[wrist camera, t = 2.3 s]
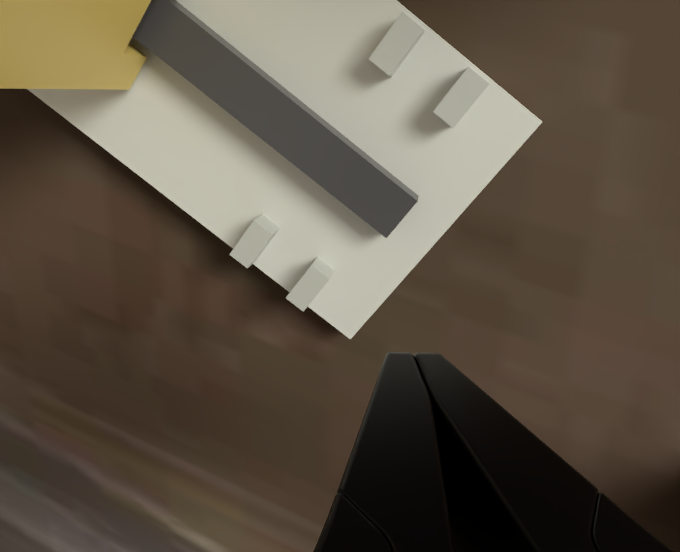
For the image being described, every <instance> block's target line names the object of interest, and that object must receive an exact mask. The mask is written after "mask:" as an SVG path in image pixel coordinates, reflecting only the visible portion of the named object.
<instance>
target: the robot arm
mask: <svg viewBox="0 0 680 552" xmlns="http://www.w3.org/2000/svg"><path fill="white" fill-rule="evenodd" d="M313 552H674V551H673V550H671V549H670V548H669V547H667V546H666V545H665V544H663V543H662V542H661V541H660V540H659V539H657V538H656V537H655V536H654V535H652V534H651V533H650V532H649V531H648V530H646V529H645V528H644V527H643V526H641V525H640V524H639V523H638V522H637V521H635V520H634V519H633V518H632V517H631V516H629V515H628V514H627V513H626V512H624V511H623V510H622V509H621V508H620V507H619V506H617V505H616V504H615V503H614V502H613V501H612V500H610V499H609V498H608V497H607V496H606V495H605V494H603V493H599V494H598V489H597V488H596V487H595V486H594V485H593V484H591V483H590V482H589V481H588V480H587V479H586V478H584V477H583V476H582V475H581V474H580V473H579V472H577V471H576V470H575V469H574V468H573V467H572V466H570V465H569V464H568V463H567V462H566V461H565V460H563V459H562V458H561V457H560V456H559V455H558V454H556V453H555V452H554V451H553V450H552V449H551V448H549V447H548V446H547V445H546V444H545V443H543V442H542V441H541V440H540V439H539V438H538V437H536V436H535V435H534V434H533V433H532V432H531V431H529V430H528V429H527V428H526V427H525V426H524V425H522V424H521V423H520V422H519V421H518V420H517V419H515V418H514V417H513V416H512V415H511V414H510V413H508V412H507V411H506V410H505V409H504V408H503V407H501V406H500V405H499V404H498V403H497V402H496V401H494V400H493V399H492V398H491V397H490V396H489V395H487V394H486V393H485V392H484V391H483V390H482V389H480V388H479V387H478V386H477V385H476V384H475V383H473V382H472V381H471V380H470V379H469V378H467V377H466V376H465V375H464V374H463V373H462V372H460V371H459V370H458V369H457V368H456V367H455V366H453V365H452V364H451V363H450V362H449V361H448V360H446V359H445V358H444V357H443V356H442V355H440V354H438V353H415V354H414V355H412V354H411V353H401V352H390V353H388V354H387V355H386V357H385V360H384V363H383V365H382V368H381V371H380V374H379V377H378V379H377V382H376V385H375V388H374V391H373V393H372V396H371V399H370V402H369V405H368V407H367V410H366V413H365V416H364V419H363V421H362V424H361V427H360V430H359V432H358V435H357V438H356V441H355V444H354V446H353V449H352V452H351V455H350V458H349V460H348V463H347V466H346V469H345V472H344V474H343V477H342V480H341V483H340V486H339V488H338V491H337V495H336V496H335V498H334V501H333V504H332V507H331V510H330V512H329V515H328V518H327V520H326V523H325V525H324V528H323V530H322V532H321V535H320V537H319V540H318V542H317V545H316V547H315V549H314V551H313Z"/></svg>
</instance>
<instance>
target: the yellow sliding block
mask: <svg viewBox="0 0 680 552" xmlns="http://www.w3.org/2000/svg"><path fill="white" fill-rule="evenodd" d="M150 2H151V0H0V89H118V90H130V88H131V86H132V84H133V82H134V80H135V79H136V77H137V75H138V73H139V71H140V69H141V68H142V66H143V64H144V62H145V60H146V58H147V56H146V55H144V54H143V53H142V52H141V51H139V50H138V49H137V48H136V47H134V46H133V45H132V44H131V43H129V42H130V40H131V38H132V36H133V34H134V32H135V30H136V28H137V26H138V25H139V23H140V21H141V19H142V17H143V15H144V13H145V11H146V9H147V7H148V6H149V4H150Z"/></svg>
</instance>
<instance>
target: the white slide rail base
mask: <svg viewBox="0 0 680 552" xmlns="http://www.w3.org/2000/svg"><path fill="white" fill-rule="evenodd" d="M129 43H131V44H132V45H133V46H134V47H136V48H137V49H138V50H139V51H141V52H142V53H143V54H144V55H146V56H147V58H146V60H145V62H144V64H143V66H142V68H141V69H140V71H139V73H138V75H137V77H136V79H135V80H134V82H133V84H132V86H131V88H130V90H118V89H28V90H29V91H30V92H31V93H33V94H34V95H35V96H37V97H38V98H39V99H41V100H42V101H43V102H44V103H46V104H47V105H48V106H50V107H51V108H52V109H53V110H55V111H56V112H57V113H59V114H60V115H61V116H62V117H64V118H65V119H66V120H68V121H69V122H70V123H71V124H73V125H74V126H75V127H77V128H78V129H79V130H81V131H82V132H83V133H84V134H86V135H87V136H88V137H90V138H91V139H92V140H93V141H95V142H96V143H97V144H99V145H100V146H101V147H102V148H104V149H105V150H106V151H108V152H109V153H110V154H112V155H113V156H114V157H115V158H117V159H118V160H119V161H121V162H122V163H123V164H124V165H126V166H127V167H128V168H130V169H131V170H132V171H133V172H135V173H136V174H137V175H139V176H140V177H141V178H143V179H144V180H145V181H146V182H148V183H149V184H150V185H152V186H153V187H154V188H155V189H157V190H158V191H159V192H161V193H162V194H163V195H164V196H166V197H167V198H168V199H170V200H171V201H172V202H173V203H175V204H176V205H177V206H179V207H180V208H181V209H183V210H184V211H185V212H186V213H188V214H189V215H190V216H192V217H193V218H194V219H195V220H197V221H198V222H199V223H201V224H202V225H203V226H204V227H206V228H207V229H208V230H210V231H211V232H212V233H214V234H215V235H216V236H217V237H219V238H220V239H221V240H223V241H224V242H225V243H226V244H228V245H229V246H230V247H232V248H233V250H232V252H231V253H230V254H229V255H230V256H232V257H233V258H234V259H236V260H237V261H238V262H240V263H241V264H242V265H243V266H245V267H246V268H247V269H248V268H249V267H250V266H251V265H252V264H254V265H255V266H256V267H257V268H259V269H260V270H261V271H263V272H264V273H265V274H266V275H268V276H269V277H270V278H272V279H273V280H274V281H275V282H277V283H278V284H279V285H281V286H282V287H283V288H285V289H286V290H287V291H288V292H290V293H289V294H288V295H287V297H286V299H287V300H289V301H290V302H291V303H293V304H294V305H295V306H296V307H298V308H299V309H300V310H302V311H304V310H305V309H306V308H307V307H309V308H310V309H312V310H313V311H314V312H316V313H317V314H318V315H319V316H321V317H322V318H323V319H325V320H326V321H327V322H328V323H330V324H331V325H332V326H334V327H335V328H336V329H337V330H339V331H340V332H341V333H343V334H344V335H345V336H346V337H348V338H349V339H351V338H352V337H353V336H354V335H355V334H356V332H357V331H358V330H359V329H360V328H361V327H362V326H363V324H364V323H365V322H366V321H367V320H368V319H369V318H370V317H371V315H372V314H373V313H374V312H375V311H376V310H377V309H378V307H379V306H380V305H381V304H382V303H383V302H384V301H385V300H386V298H387V297H388V296H389V295H390V294H391V293H392V292H393V291H394V289H395V288H396V287H397V286H398V285H399V284H400V283H401V281H402V280H403V279H404V278H405V277H406V276H407V275H408V274H409V272H410V271H411V270H412V269H413V268H414V267H415V266H416V264H417V263H418V262H419V261H420V260H421V259H422V258H423V257H424V255H425V254H426V253H427V252H428V251H429V250H430V249H431V247H432V246H433V245H434V244H435V243H436V242H437V241H438V240H439V238H440V237H441V236H442V235H443V234H444V233H445V232H446V231H447V229H448V228H449V227H450V226H451V225H452V224H453V223H454V221H455V220H456V219H457V218H458V217H459V216H460V215H461V214H462V212H463V211H464V210H465V209H466V208H467V207H468V206H469V204H470V203H471V202H472V201H473V200H474V199H475V198H476V197H477V195H478V194H479V193H480V192H481V191H482V190H483V189H484V188H485V186H486V185H487V184H488V183H489V182H490V181H491V180H492V178H493V177H494V176H495V175H496V174H497V173H498V172H499V171H500V169H501V168H502V167H503V166H504V165H505V164H506V163H507V161H508V160H509V159H510V158H511V157H512V156H513V155H514V154H515V152H516V151H517V150H518V149H519V148H520V147H521V146H522V145H523V143H524V142H525V141H526V140H527V139H528V138H529V137H530V135H531V134H532V133H533V132H534V131H535V130H536V129H537V128H538V126H539V125H540V124H541V123H542V121H541V120H540V119H538V118H537V117H536V116H535V115H534V114H532V113H531V112H530V111H529V110H528V109H526V108H525V107H524V106H523V105H522V104H520V103H519V102H518V101H517V100H516V99H514V98H513V97H512V96H511V95H510V94H508V93H507V92H506V91H505V90H504V89H502V88H501V87H500V86H499V85H498V84H496V83H495V82H494V81H493V80H492V79H490V78H489V77H488V76H487V75H486V74H484V73H483V72H482V71H481V70H480V69H478V68H477V67H476V66H475V65H474V64H472V63H471V62H470V61H469V60H468V59H466V58H465V57H464V56H463V55H462V54H460V53H459V52H458V51H457V50H456V49H454V48H453V47H452V46H451V45H450V44H448V43H447V42H446V41H445V40H444V39H442V38H441V37H440V36H439V35H438V34H436V33H435V32H434V31H433V30H432V29H430V28H429V27H428V26H427V25H426V24H424V23H423V22H422V21H421V20H420V19H418V18H417V17H416V16H415V15H414V14H412V13H411V12H410V11H409V10H408V9H406V8H405V7H404V6H403V5H402V4H400V3H399V2H398V1H397V0H151V2H150V4H149V6H148V7H147V9H146V11H145V13H144V15H143V17H142V19H141V21H140V23H139V25H138V26H137V28H136V30H135V32H134V34H133V36H132V38H131V40H130V42H129Z"/></svg>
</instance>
